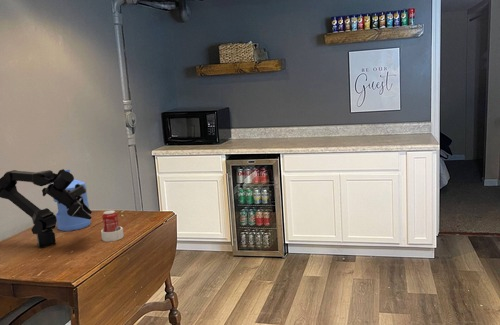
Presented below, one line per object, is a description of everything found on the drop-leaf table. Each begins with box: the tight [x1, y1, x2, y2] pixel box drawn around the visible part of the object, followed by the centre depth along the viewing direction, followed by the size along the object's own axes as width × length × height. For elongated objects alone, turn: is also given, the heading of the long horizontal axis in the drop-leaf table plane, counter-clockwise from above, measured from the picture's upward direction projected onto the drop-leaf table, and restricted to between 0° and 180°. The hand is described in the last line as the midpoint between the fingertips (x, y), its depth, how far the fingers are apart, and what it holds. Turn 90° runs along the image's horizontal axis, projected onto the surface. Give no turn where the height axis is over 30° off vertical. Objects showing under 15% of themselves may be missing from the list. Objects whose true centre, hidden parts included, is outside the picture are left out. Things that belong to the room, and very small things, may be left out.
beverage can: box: [102, 210, 119, 232], centre depth 211 cm, size 6×6×12 cm
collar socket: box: [100, 226, 124, 243], centre depth 212 cm, size 9×9×4 cm
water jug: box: [52, 169, 92, 232], centre depth 232 cm, size 16×16×28 cm
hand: (91, 215), depth 208 cm, fingers open, 9 cm apart
